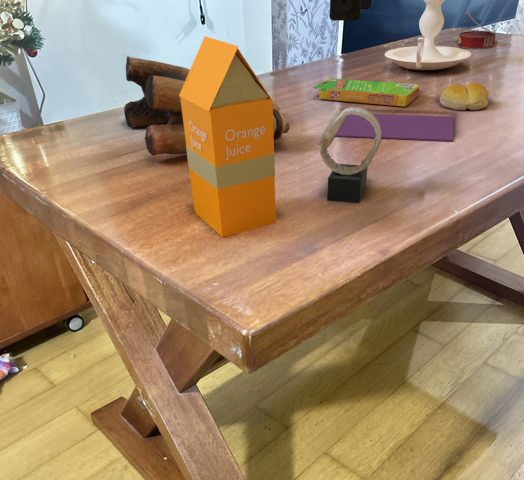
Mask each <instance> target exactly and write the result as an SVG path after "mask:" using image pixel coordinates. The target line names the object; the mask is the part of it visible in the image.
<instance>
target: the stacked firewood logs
mask: <svg viewBox="0 0 524 480" xmlns="http://www.w3.org/2000/svg"><path fill="white" fill-rule="evenodd" d="M190 69H191V68H188V67H184V66H179V65H175V64H170V63H166V62H160V61H156V60H150V59H144V58H137V57H132V56H130V55H127V56H126V61H125V79H126V81H127V82H132V83H134V84H136V85H138V86H139V87H140V88H141V90H142V93H143V97H141V98H140V99H138V100H134V101H132V100H130V101H129V102H127V103H125V105H124V107H123V113H124V119H125V123H126V125H127V127H128V128H138V127H139V128H142V127H143V128H145V127H146V129H145V136H144V142H145V146H146V150H147V152H148V154H149V155H151V156H152V157H154V156H157V155H162V154H167V155H184V154H186V155H187V150H186V139H185V131H184V123H183V115H182V107H181V99H180V96H179V94H180V92H181V90H182V87H183V85H184V83H185V81H186V78H187V76H188V74H189V71H190ZM289 131H290V122H289V121H288V120H287V119H286V118H285V117H284V115H283V113H282V112H281V107H280V106H279V105H278V104H277V103H275V102H273V133H274V142H275V141H278V140H280V139H281V137H282V136H283V134H288V132H289Z"/></svg>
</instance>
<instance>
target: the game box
mask: <svg viewBox="0 0 524 480" xmlns="http://www.w3.org/2000/svg"><path fill="white" fill-rule="evenodd" d="M420 87H421V86H420V84H416V83H405V82H404V83H403V82H388V81H376V80H361V79H347V78H328V79H326V80H323V82H321V83H319V84H317V85H314V86H312V89H314V90H319V93H318V94H319V95H318V99H319V100H325V101H326V100H327V101H337V102H348V103H360V104H370V105H381V106H392V107H405V108H406V107H407V106H408V105H409V104H410V103H411V102H413V101H414V100H415V99H416V98H417V97H419V94H420V89H421V88H420Z"/></svg>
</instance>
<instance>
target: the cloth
mask: <svg viewBox="0 0 524 480" xmlns="http://www.w3.org/2000/svg"><path fill="white" fill-rule="evenodd" d="M372 114H373V115H374V116H375V117H376V119H377V120H378V122H379V124H380V128H381V139H380V140H401V141H404V140H406V141H425V142H427V141H428V142H429V141H430V142H454V121H455V120H454V116H452V115H451V116H449V115H419V114H384V113H372ZM374 116H373V117H374ZM374 128H375V127H373V126H372V124H371V123H370V122H369V121H368V120H366V119H365V117H364V118H363V117H361V116H359V115H352V114H350V115H346V120H345V122H344V123H343V125H342V127H341V128H340V130H339V131H338V133H337V135H336V136H335V138H355V139H375V137H376V135H377V134H376V132H375V129H374Z"/></svg>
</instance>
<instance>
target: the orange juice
mask: <svg viewBox="0 0 524 480" xmlns="http://www.w3.org/2000/svg"><path fill="white" fill-rule="evenodd" d="M189 69H190V71H189V74H188V76H187V78H186V81H185V83H184V85H183V87H182V90H181V92H180V94H179V96H180V99H181V107H182V115H183V123H184V131H185V139H186V150H187V154H186V157H187V165H188V169H189V171H188V172H189V177H190V179H189V180H190V185H191V193H192V202H193V210H194V213H195V214H196V215H197V216H198V218H200V219H201V220H203V221H204V222H205V223H206V224H207V225H208V226H209V227H210V228H211V229H213V230H214V231H215V232H216V233H217V234H218V235H219V236H220V237H221V238H225V237H228V236H232V235H235V234H238V233H243V232H246V231H250V230H253V229H258V228H261V227H265V226H269V225H272V224H275V223H276V224H277V210H276V207H277V206H276V177H275V176H276V161H275V160H276V159H275V155H276V154H275V141H274V133H273V103H274V100H273V98H272V97H271V96H270V94H269V93H268V91H267V90H266V89H265V87H264V85H263V84H262V82H261V81H260V79H259V78H258V77H257V75H256V73H255V72H254V70H253V69H252V68H251V66H250V64H249V63H248V62H247V59H246V58H245V57H244V55H243V54H242V52H241V51H240V49H239V46H238V45H236V44H233V43H230V42H226V41H223V40H219V39H216V38H213V37H208V36H204V37H203V39H202V41H201V44H200V45H199V48H198V51H197V53H196V55H195V58H194V60H193V62H192V64H191V67H190V68H189Z"/></svg>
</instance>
